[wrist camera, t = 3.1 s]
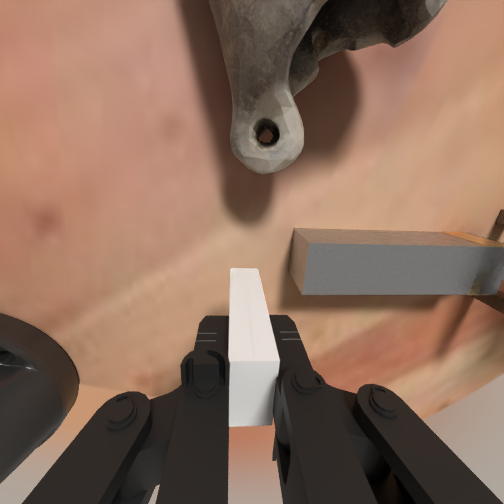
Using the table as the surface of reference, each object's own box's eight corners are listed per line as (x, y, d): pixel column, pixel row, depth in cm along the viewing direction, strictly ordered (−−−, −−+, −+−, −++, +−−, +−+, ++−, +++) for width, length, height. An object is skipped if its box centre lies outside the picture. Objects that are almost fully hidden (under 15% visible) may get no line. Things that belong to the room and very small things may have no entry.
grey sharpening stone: (288, 272, 21) (301, 295, 17) (294, 227, 20) (309, 242, 16) (470, 273, 23) (517, 294, 19) (486, 232, 21) (540, 247, 18)
